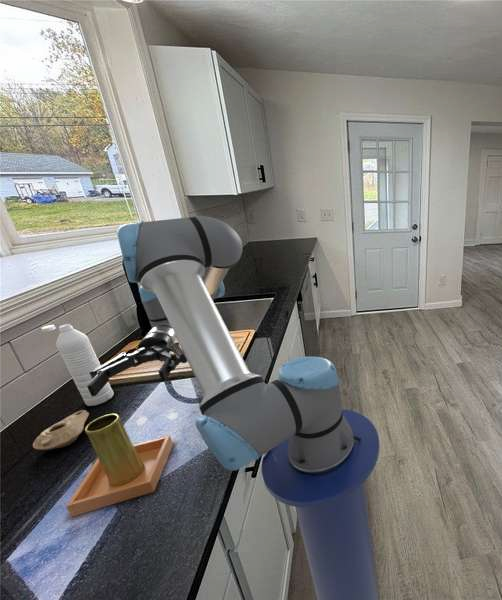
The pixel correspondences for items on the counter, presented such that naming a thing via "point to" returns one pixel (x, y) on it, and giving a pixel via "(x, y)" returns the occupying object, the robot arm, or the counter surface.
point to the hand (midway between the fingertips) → (127, 383)
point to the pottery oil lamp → (62, 432)
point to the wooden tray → (102, 494)
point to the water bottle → (80, 362)
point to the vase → (114, 449)
